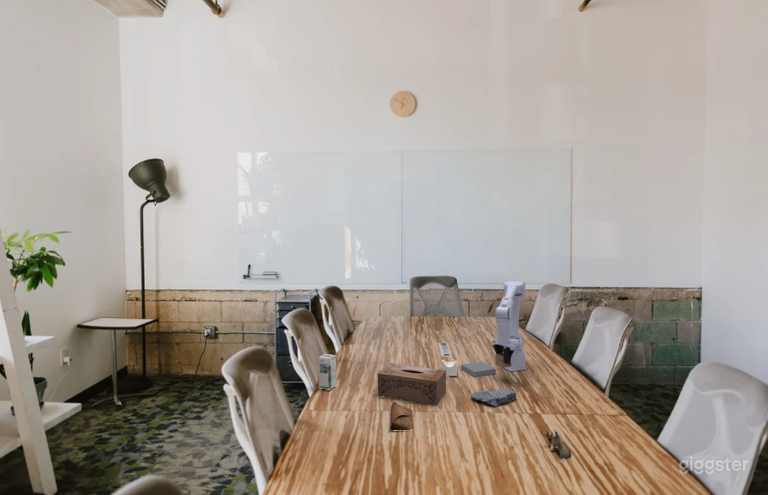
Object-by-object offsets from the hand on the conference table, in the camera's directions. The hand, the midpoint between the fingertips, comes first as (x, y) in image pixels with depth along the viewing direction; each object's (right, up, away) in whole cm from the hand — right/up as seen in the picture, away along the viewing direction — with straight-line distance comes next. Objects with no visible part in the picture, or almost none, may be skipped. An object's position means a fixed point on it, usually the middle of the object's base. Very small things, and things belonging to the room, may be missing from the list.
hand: (503, 361), depth 191 cm
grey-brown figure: (-1, -11, -62) cm, 63 cm away
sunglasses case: (-49, -11, -39) cm, 64 cm away
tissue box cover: (-43, -10, -15) cm, 47 cm away
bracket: (-23, -9, +12) cm, 27 cm away
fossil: (-10, -10, -22) cm, 27 cm away
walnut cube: (0, -2, 0) cm, 2 cm away
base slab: (-9, -9, +13) cm, 18 cm away
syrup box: (-80, -10, -8) cm, 81 cm away
